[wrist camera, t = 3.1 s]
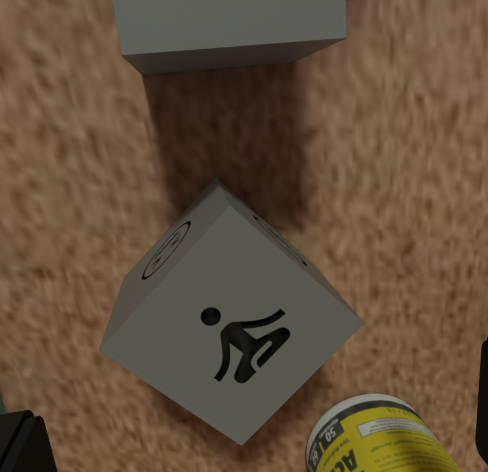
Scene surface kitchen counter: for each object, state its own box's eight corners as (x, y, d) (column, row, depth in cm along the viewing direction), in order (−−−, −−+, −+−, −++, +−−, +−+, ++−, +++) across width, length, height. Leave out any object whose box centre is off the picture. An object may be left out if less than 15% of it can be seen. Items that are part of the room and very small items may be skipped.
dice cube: (225, 353, 17) (241, 445, 12) (123, 278, 16) (98, 350, 11) (311, 262, 17) (364, 323, 12) (215, 176, 15) (230, 205, 10)
